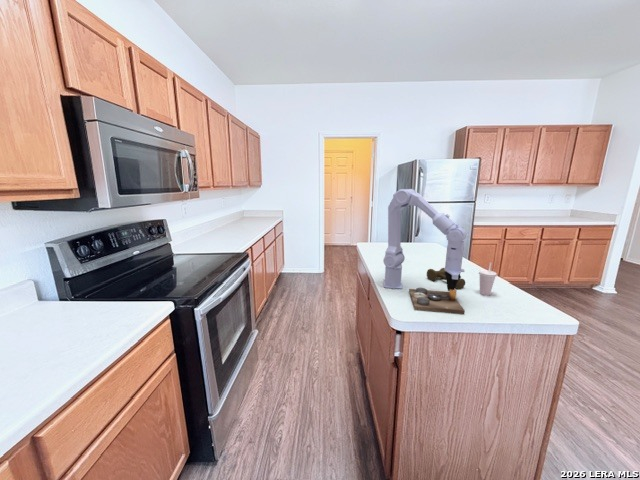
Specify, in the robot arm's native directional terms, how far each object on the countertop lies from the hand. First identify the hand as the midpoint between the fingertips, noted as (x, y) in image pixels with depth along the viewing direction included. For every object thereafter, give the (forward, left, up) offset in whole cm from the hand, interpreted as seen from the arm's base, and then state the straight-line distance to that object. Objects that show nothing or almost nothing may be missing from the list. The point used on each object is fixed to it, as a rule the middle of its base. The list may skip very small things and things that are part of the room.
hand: (450, 290), depth 105 cm
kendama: (-21, +3, -4) cm, 22 cm away
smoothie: (-9, +16, -4) cm, 19 cm away
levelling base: (+4, -7, -4) cm, 9 cm away
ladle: (+4, -4, -2) cm, 6 cm away
